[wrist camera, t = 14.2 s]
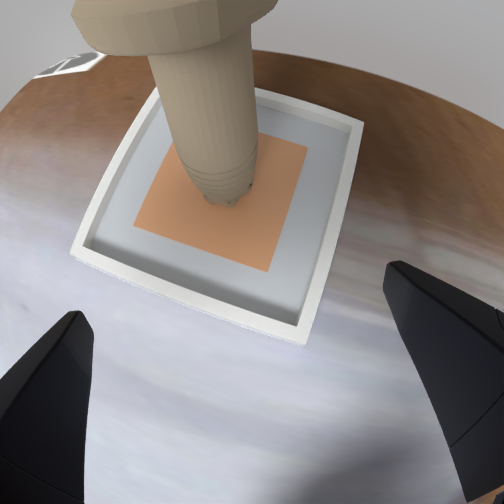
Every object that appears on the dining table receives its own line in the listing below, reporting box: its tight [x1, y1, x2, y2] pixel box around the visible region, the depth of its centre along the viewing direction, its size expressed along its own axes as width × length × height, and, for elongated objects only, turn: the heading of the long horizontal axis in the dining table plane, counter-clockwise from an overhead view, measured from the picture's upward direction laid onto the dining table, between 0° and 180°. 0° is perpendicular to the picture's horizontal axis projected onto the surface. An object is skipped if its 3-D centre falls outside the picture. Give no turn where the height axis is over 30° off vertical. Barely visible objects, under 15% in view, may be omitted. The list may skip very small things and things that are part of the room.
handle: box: [71, 0, 278, 208], centre depth 12 cm, size 5×6×15 cm
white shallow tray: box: [69, 86, 364, 347], centre depth 19 cm, size 16×16×2 cm
